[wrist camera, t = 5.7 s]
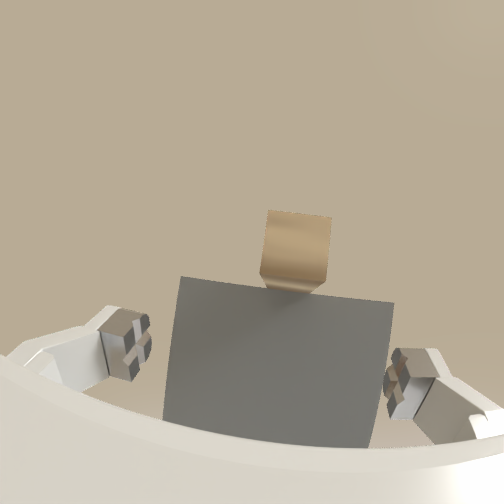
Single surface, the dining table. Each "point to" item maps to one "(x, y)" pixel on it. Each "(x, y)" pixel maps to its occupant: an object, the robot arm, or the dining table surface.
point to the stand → (276, 364)
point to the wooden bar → (295, 251)
